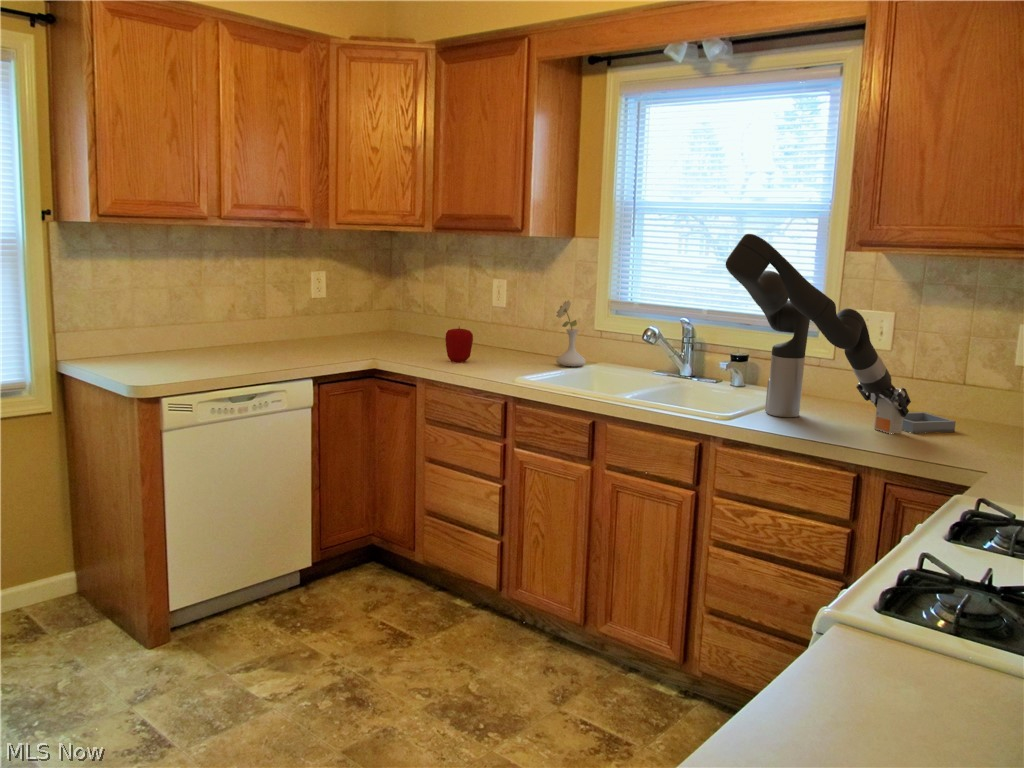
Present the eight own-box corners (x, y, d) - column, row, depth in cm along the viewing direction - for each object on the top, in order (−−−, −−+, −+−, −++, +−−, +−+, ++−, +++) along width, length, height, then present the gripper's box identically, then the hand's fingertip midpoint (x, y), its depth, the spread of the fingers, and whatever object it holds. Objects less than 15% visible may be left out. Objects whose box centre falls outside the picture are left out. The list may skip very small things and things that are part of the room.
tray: (882, 423, 249) (883, 413, 249) (922, 422, 253) (924, 412, 253) (912, 433, 238) (913, 422, 237) (954, 431, 242) (955, 421, 241)
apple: (474, 363, 329) (475, 327, 327) (447, 363, 327) (448, 327, 324) (469, 359, 339) (470, 324, 337) (443, 359, 337) (443, 324, 334)
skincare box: (873, 429, 241) (878, 386, 239) (885, 428, 243) (890, 386, 241) (890, 434, 236) (895, 390, 234) (902, 433, 237) (907, 390, 235)
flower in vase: (572, 362, 340) (575, 298, 336) (592, 367, 332) (595, 300, 327) (546, 365, 332) (549, 299, 328) (566, 369, 324) (569, 301, 319)
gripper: (840, 377, 236) (863, 416, 244) (887, 386, 224) (910, 428, 232) (855, 357, 238) (878, 396, 246) (902, 365, 226) (925, 406, 234)
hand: (893, 411), depth 239 cm, fingers closed on skincare box, 6 cm apart
